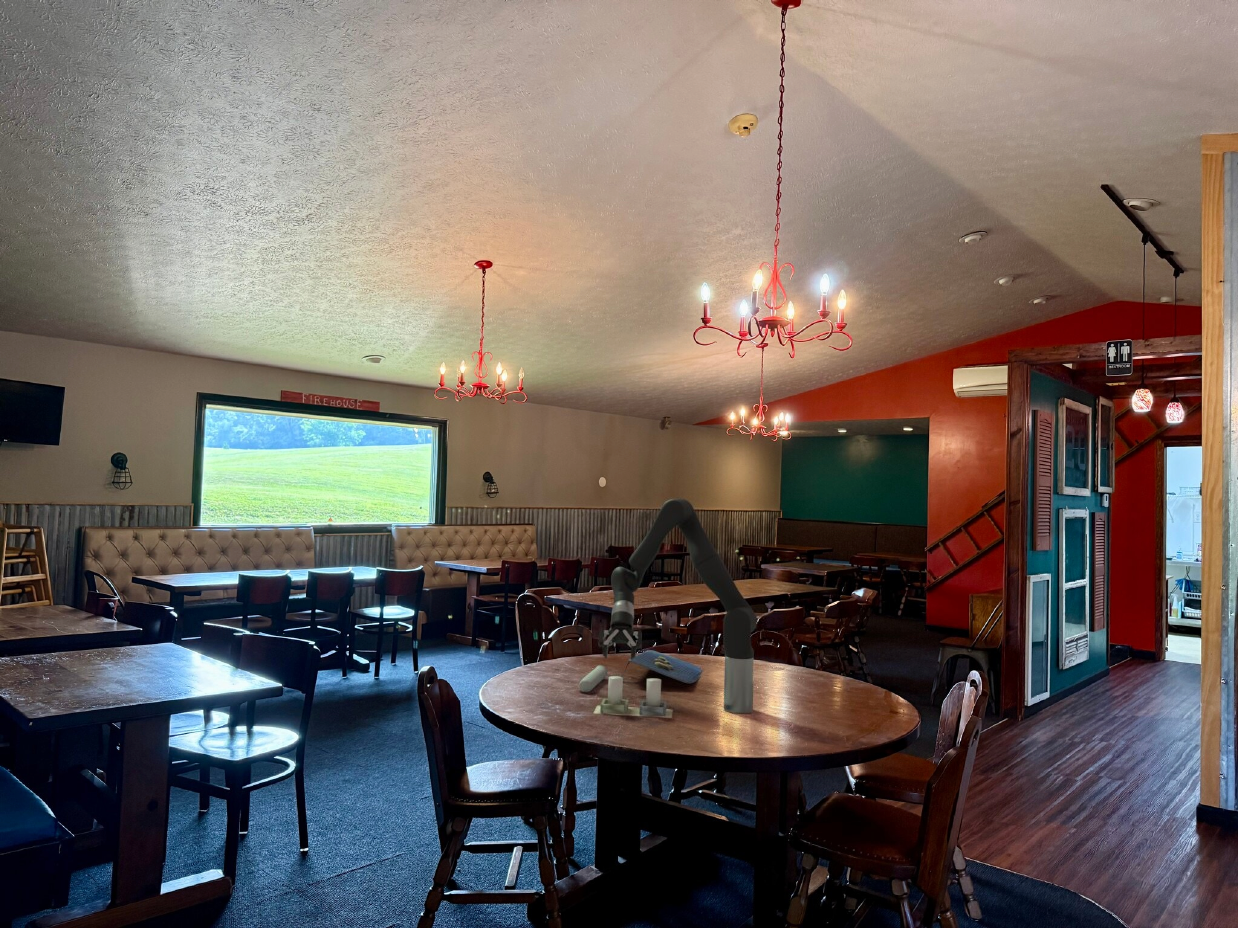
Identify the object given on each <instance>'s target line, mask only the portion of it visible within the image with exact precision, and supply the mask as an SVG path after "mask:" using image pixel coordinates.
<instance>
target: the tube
mask: <svg viewBox="0 0 1238 928" xmlns="http://www.w3.org/2000/svg"><path fill="white" fill-rule="evenodd" d="M607 676H608V669H607V668H606V667H605V666H604V665H597V666H596V667H595V668H594V669H593V670H592V671H590V672H589V673H588V674H587V675H585V676H584V677H583V678H582V679H581V680H580V682H579V683H578V689H579V691H581V692H582V693H587V692H588V693H590V692H591V691H592V690H593V689H594V688H595V687H597V686H598V685H599V684H600V683H601V682H603V680H605V679H606V677H607Z"/></svg>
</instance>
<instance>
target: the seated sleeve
mask: <svg viewBox="0 0 1238 928" xmlns="http://www.w3.org/2000/svg"><path fill="white" fill-rule="evenodd" d="M661 690H662V679H660V678H657V677H656V678H652V677H651V678H650V677H649V678H646V692H645V693H646V697H645V698H646V699H645V701H646V706H647V707H661V706H660V702H661V696H662V694H661V693H662V691H661Z"/></svg>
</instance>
